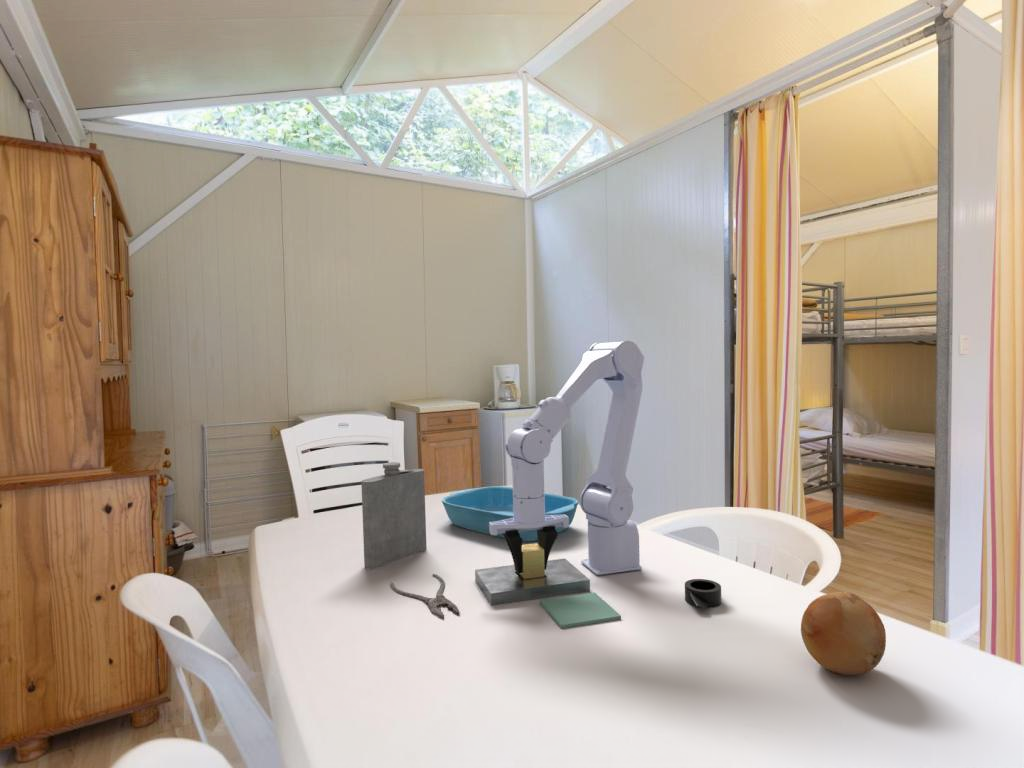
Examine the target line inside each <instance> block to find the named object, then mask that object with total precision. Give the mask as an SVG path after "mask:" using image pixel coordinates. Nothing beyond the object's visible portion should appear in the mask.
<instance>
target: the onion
mask: <svg viewBox="0 0 1024 768" xmlns="http://www.w3.org/2000/svg"><path fill="white" fill-rule="evenodd" d="M800 633H801V639H802V642H803V643H804V646H805V648H806V650H807V653H809V655H810V656H811V657H812V658H813V659H814V660H815V661H816V663H818V664H819V665H820V667H823V668H824V669H826V670H828V671H829V672H833V673H834V674H837V675H838V674H839V675H843V676H851V675H852V676H853V675H855V676H856V675H863V674H866V673H869V672H870V671H871V670H874V669H875V668H876V667H877V666H878V665H879V664H880V662H882V659H883V656H884V654H885V651H886V642H887V636H886V635H887V634H886V629H885V624H884V622H883V621H882V619H881V617H880V615H879V614H878V612H877V611H876V609H874V607H873V606H872V605H871V604H869V602H867V601H866V600H864V599H863V598H861V597H860V596H859V595H857V594H855V593H852V592H848V591H837V592H836V591H835V592H830V593H829V592H828V593H825V594H823V595H821V596H819V597H817V598H814V599H813V600H812V601H811V602H810V603H809V604H808V606H806V609H805V611H804V612H803V614H802V618H801V623H800Z"/></svg>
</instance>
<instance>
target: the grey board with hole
mask: <svg viewBox="0 0 1024 768" xmlns="http://www.w3.org/2000/svg"><path fill="white" fill-rule="evenodd" d="M474 578H475V579H474V580H475V583H476V584H477V585H478V587H479V588H480V590H481V592H482V593H483V595H484V597H485V598H486V600H487V601H488V603H489V605H490V606H495V605H502V604H503V605H504V604H508V603H516V602H522V601H523V602H524V601H530V600H537V599H543V598H544V599H545V598H551V597H552V598H553V597H556V596H557V597H558V596H564V595H565V596H566V595H573V594H578V593H586V592H590V591H591V579H589V578H588V577H587V576H586V575H585V574H584V573H583V572H581V571H580V570H579V569H578V568H577V567H576V566H575V565H574V564H573V563H571V562H570V561H569V560H567V559H566V558H558V559H548V561H547V567H546V570H545V578H540V579H533V580H525V581H522V580H521V579H520V578H519V577H518V576H517V572H516V570H515V566H514V564H511V565H503V566H495V567H486V568H479V569H478V568H477V569H474Z"/></svg>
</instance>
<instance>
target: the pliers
mask: <svg viewBox="0 0 1024 768" xmlns="http://www.w3.org/2000/svg"><path fill="white" fill-rule="evenodd" d="M431 576H432V577H434V578H435V579H437V580H438V581H439V584H440V586H439V588H438V590H437V591H436V595H435V597H427V596H423V595H420V594H415V593H411V592H406V591H403V590H401V589H398V588H397V587H396V586H395V584H394V582H392V581H391V582H390V587H391V590H393V592H394V593H396V594H399V595H402V596H405V597H408V598H411V599H414V600H419V601H421V602H423V603H424V604H426V605H427V606H428V608H429V610H430V612H431V614H432V615H434V616H436V617H438V618H440V619H442V620H445V615H444V612H443V611H442V608H445V607H447V610H448V611H452V612H453V614H456V615H458V616H460V615H461V612H460V610H459V608H458V606H457V604H454V603H453V602H452V601H451V600H449V599H448V598H446V596H445V595H444V591H445V589H446V588H445V587H446V582H445V580H444V578H442V577H441V576H440V575H438V574H436V573H432V575H431ZM441 607H442V608H441Z"/></svg>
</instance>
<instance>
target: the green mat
mask: <svg viewBox="0 0 1024 768" xmlns="http://www.w3.org/2000/svg"><path fill="white" fill-rule="evenodd" d="M539 604H540V605H541V606H542V607H543V609H545V611H546V612H547V613H548V615H549V616H550V617H551V618H552V619H553V620H554V622H555V623H556V625H558V626H559V628H560V629H566V628H572V627H578V626H585V625H592V624H596V623H597V624H598V623H604V622H605V623H606V622H610V621H616V620H621V619H622V615H621V614H620V613H619V612H618V611H616V610H615V609H614V608H613V607H611V605H610V604H608V603H607V602H606V601H605V600H603V598H602V597H601V596H599V595H598V593H596V592H587V593H582V594H581V593H580V594H572V595H565V596H559V597H552V598H546V599H545V598H544V599H540V600H539Z"/></svg>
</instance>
